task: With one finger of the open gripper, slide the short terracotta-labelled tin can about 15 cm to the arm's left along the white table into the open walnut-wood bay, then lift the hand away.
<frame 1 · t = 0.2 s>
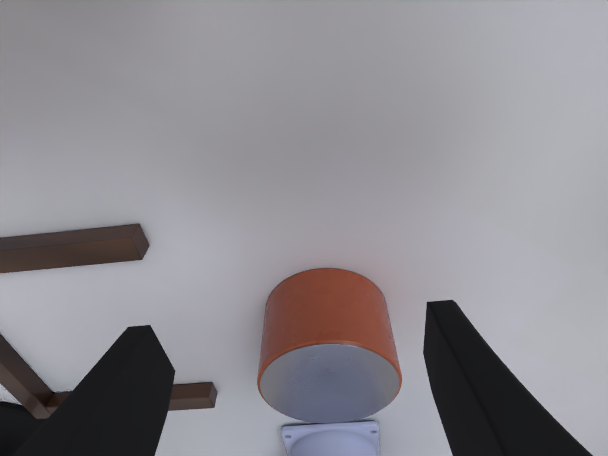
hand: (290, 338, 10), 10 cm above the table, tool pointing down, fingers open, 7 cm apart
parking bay: (97, 331, 26), on the table
wine glass: (15, 430, 34), on the table
tin can: (325, 312, 25), on the table
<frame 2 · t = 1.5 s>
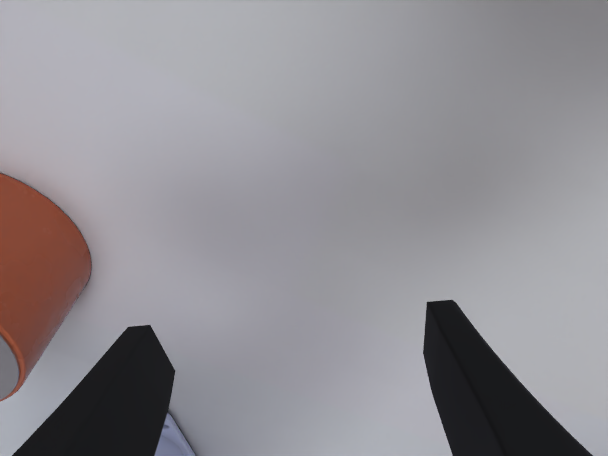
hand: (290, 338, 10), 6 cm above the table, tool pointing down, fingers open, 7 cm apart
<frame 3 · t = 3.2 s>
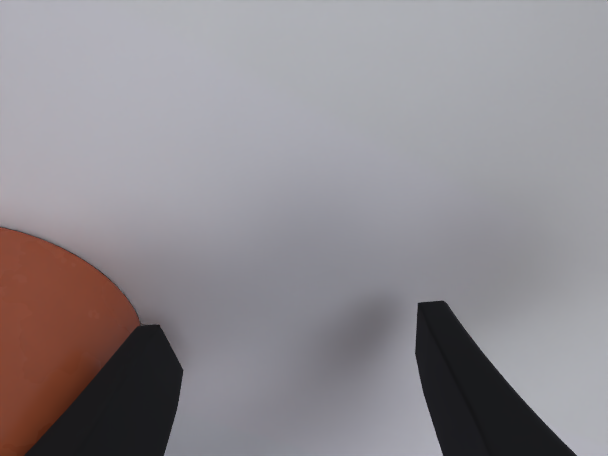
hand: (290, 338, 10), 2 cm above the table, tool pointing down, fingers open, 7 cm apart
tin can: (21, 318, 12), on the table, touching gripper
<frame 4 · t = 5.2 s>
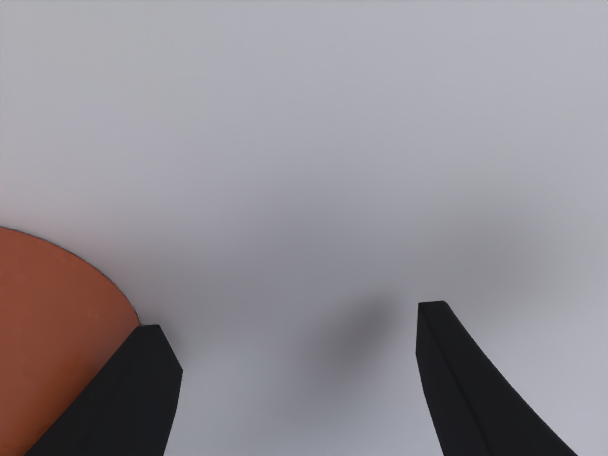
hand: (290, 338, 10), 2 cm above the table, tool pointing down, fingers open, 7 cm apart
tin can: (21, 318, 12), on the table, touching gripper
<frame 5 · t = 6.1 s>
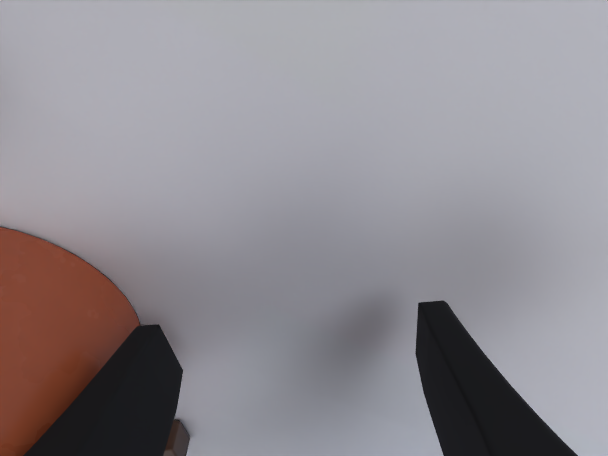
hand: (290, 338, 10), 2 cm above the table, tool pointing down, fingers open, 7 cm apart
tin can: (20, 318, 12), on the table, touching gripper
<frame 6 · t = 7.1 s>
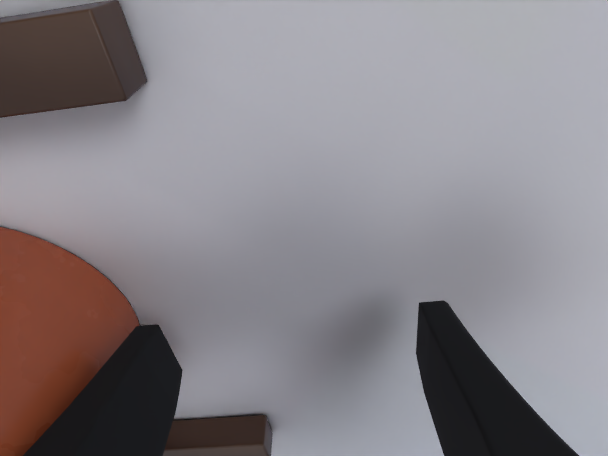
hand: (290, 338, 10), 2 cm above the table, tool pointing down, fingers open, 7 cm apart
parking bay: (40, 317, 12), on the table
tin can: (20, 318, 12), on the table, touching gripper
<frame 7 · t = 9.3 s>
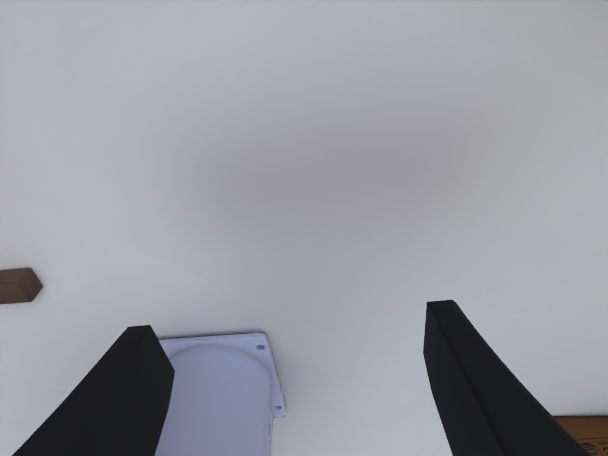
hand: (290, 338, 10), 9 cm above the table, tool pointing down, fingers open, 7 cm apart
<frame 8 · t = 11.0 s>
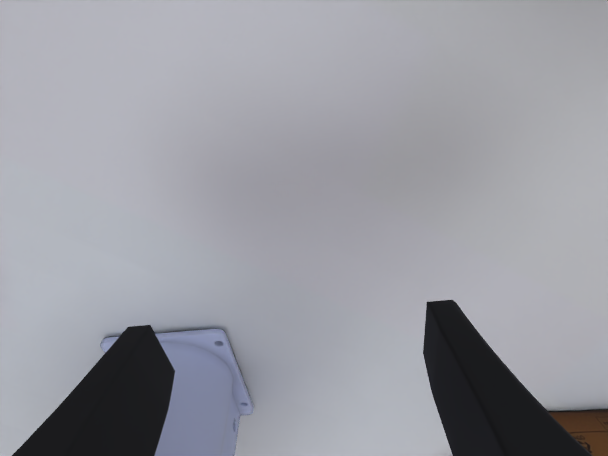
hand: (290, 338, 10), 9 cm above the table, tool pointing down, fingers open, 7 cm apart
pancake mix bag: (583, 417, 31), on the table
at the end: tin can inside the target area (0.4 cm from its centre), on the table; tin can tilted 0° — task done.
